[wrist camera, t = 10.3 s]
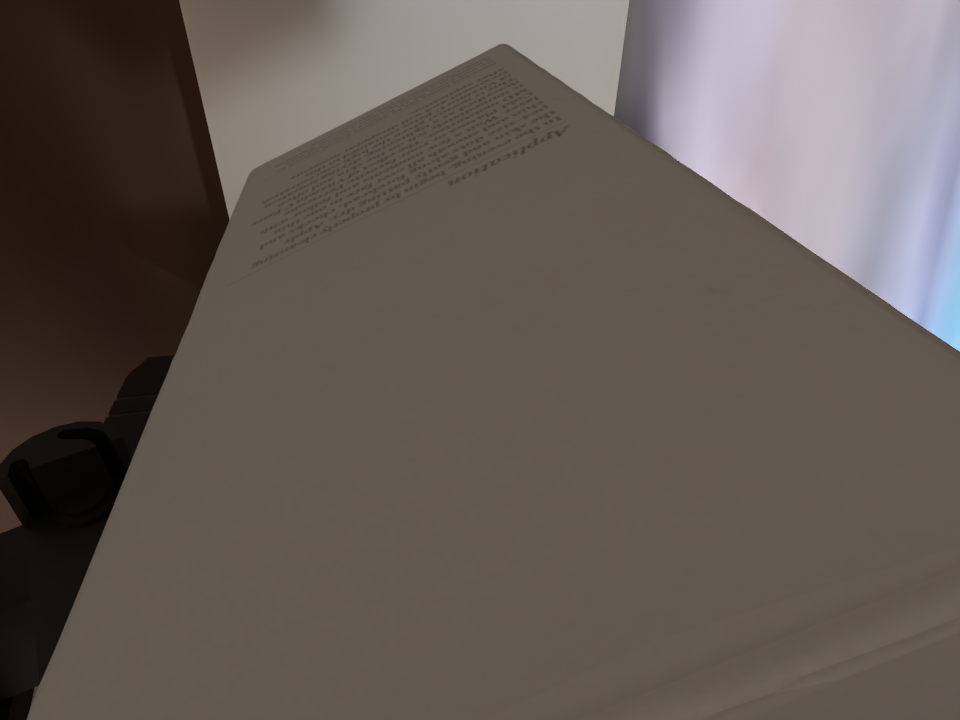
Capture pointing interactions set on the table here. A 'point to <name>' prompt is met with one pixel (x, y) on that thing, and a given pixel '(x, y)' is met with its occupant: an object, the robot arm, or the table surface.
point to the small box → (525, 449)
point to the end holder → (370, 61)
